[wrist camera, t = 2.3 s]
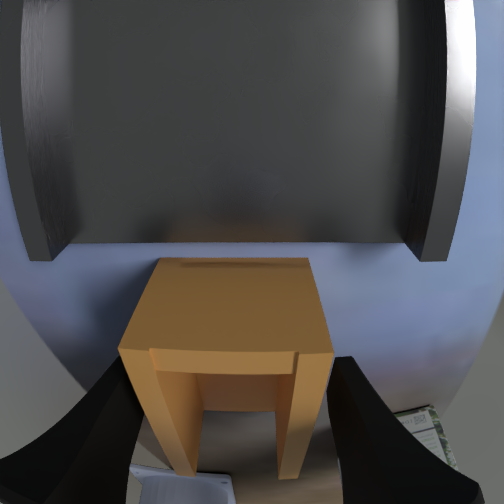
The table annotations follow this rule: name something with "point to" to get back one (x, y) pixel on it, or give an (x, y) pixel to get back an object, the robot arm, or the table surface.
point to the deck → (237, 120)
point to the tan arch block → (229, 351)
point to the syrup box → (426, 433)
